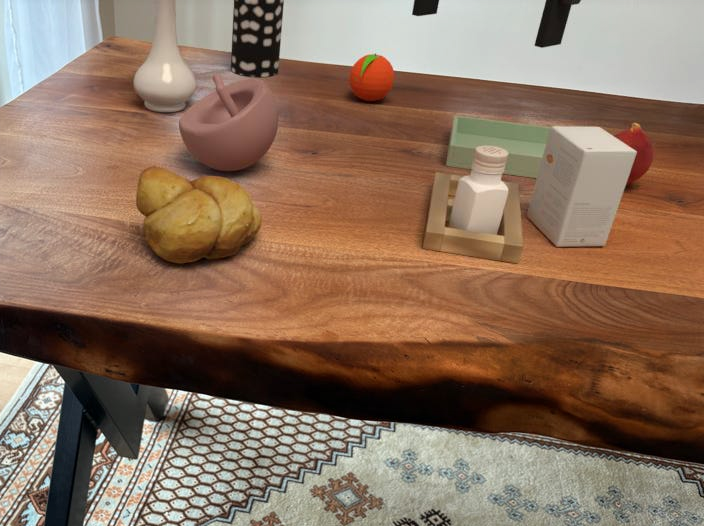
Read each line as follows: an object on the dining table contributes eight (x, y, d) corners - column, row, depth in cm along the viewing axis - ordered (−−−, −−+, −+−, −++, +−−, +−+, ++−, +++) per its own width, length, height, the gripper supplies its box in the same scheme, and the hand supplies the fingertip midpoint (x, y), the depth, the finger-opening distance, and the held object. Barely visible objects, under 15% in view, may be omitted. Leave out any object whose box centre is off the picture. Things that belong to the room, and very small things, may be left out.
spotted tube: (243, 78, 130) (250, -55, 118) (223, 66, 136) (228, -63, 124) (286, 75, 133) (297, -56, 121) (265, 62, 139) (273, -63, 127)
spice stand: (514, 199, 92) (518, 183, 90) (518, 264, 78) (523, 246, 77) (432, 187, 94) (435, 171, 92) (422, 248, 80) (426, 231, 79)
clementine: (377, 111, 118) (385, 63, 114) (336, 102, 121) (342, 55, 116) (396, 99, 123) (404, 53, 119) (357, 91, 126) (363, 45, 122)
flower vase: (239, 116, 113) (250, -78, 99) (114, 122, 108) (106, -81, 94) (216, 91, 123) (223, -89, 109) (101, 95, 119) (92, -92, 104)
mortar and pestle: (171, 152, 100) (171, 60, 93) (260, 149, 102) (267, 59, 95) (187, 188, 90) (188, 88, 84) (285, 184, 92) (294, 87, 86)
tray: (561, 148, 107) (567, 129, 105) (568, 183, 97) (575, 161, 95) (450, 134, 110) (454, 115, 109) (445, 166, 100) (450, 145, 98)
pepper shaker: (478, 227, 85) (499, 142, 79) (496, 243, 81) (520, 156, 76) (445, 230, 84) (464, 144, 78) (462, 246, 81) (484, 158, 75)
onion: (623, 177, 99) (645, 115, 94) (650, 195, 94) (675, 130, 90) (582, 178, 98) (602, 115, 94) (608, 196, 93) (630, 131, 89)
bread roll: (245, 221, 83) (250, 149, 79) (282, 261, 76) (289, 184, 72) (130, 235, 79) (128, 160, 75) (157, 279, 72) (156, 199, 68)
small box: (605, 248, 82) (639, 151, 76) (554, 248, 81) (585, 151, 75) (571, 216, 88) (600, 125, 82) (524, 216, 88) (550, 124, 82)
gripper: (390, -273, 63) (354, 6, 75) (689, -292, 47) (582, 66, 59) (449, -264, 67) (406, 0, 79) (745, -280, 51) (634, 55, 63)
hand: (481, 29), depth 69 cm, fingers open, 13 cm apart
